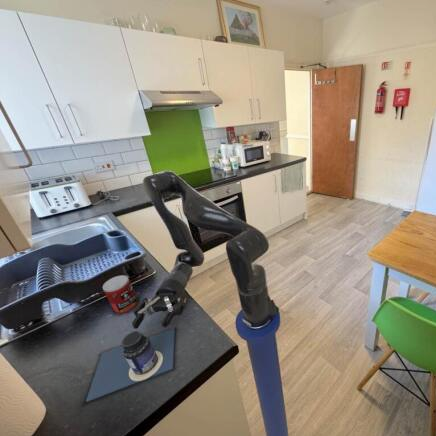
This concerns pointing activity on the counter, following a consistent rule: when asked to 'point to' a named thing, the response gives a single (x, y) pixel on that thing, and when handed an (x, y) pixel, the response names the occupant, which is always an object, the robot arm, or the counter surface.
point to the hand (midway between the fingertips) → (149, 326)
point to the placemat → (122, 372)
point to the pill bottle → (139, 352)
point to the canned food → (120, 294)
